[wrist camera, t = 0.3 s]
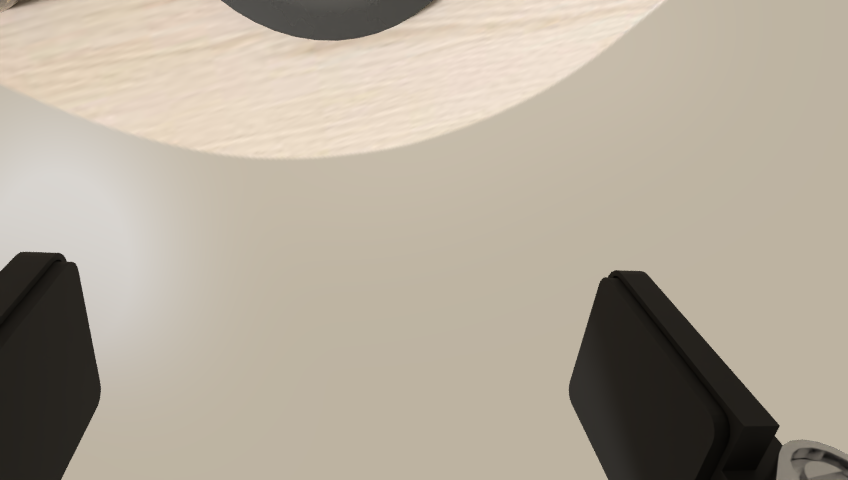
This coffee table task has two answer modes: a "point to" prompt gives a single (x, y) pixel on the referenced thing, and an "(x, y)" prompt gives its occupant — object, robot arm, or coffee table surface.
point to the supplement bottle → (7, 4)
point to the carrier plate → (328, 16)
